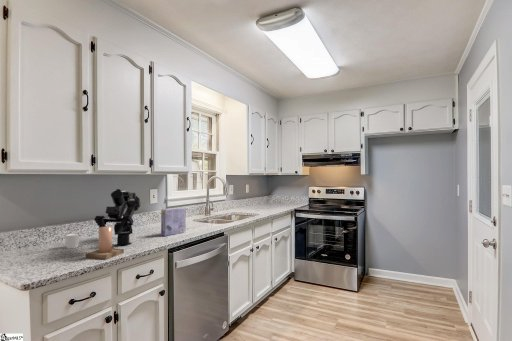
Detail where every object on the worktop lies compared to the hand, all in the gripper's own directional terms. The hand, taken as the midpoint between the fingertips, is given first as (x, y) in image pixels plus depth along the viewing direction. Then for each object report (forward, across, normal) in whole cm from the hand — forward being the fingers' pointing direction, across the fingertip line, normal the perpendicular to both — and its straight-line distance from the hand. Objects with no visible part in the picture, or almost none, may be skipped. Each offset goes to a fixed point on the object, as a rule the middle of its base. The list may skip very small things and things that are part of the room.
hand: (108, 234), depth 147 cm
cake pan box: (-29, +20, +44) cm, 56 cm away
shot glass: (-3, -27, +17) cm, 32 cm away
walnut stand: (+9, 0, +5) cm, 10 cm away
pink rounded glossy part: (+8, 0, +3) cm, 9 cm away
